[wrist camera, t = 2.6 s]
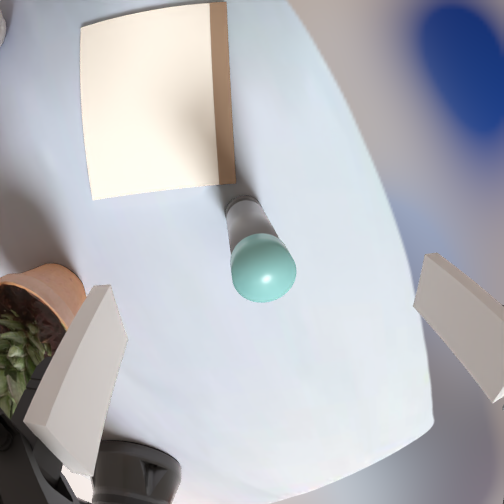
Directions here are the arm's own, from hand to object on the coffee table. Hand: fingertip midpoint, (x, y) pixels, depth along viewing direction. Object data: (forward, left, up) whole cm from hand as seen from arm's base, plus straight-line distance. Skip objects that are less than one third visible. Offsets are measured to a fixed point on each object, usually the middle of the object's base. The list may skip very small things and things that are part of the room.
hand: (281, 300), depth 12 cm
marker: (0, 0, -13) cm, 13 cm away
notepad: (-6, +9, -13) cm, 17 cm away
